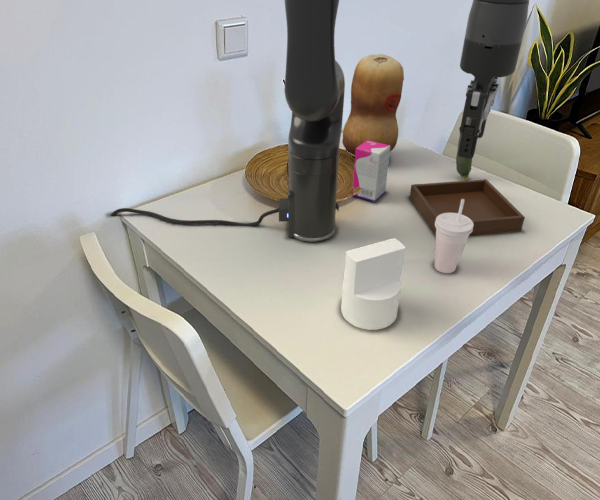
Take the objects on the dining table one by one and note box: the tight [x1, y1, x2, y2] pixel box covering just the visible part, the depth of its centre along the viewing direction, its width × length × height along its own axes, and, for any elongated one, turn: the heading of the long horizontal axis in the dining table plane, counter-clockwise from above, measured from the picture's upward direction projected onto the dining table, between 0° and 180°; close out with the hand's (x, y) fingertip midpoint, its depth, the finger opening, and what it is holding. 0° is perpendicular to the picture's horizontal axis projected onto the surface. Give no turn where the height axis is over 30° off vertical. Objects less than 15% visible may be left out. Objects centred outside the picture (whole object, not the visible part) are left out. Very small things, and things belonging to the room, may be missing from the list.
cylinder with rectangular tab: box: [340, 237, 406, 331], centre depth 79 cm, size 9×9×12 cm
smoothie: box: [433, 199, 474, 274], centre depth 89 cm, size 6×6×14 cm
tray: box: [409, 178, 526, 237], centre depth 107 cm, size 18×17×3 cm
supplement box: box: [352, 140, 391, 203], centre depth 111 cm, size 6×6×12 cm
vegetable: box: [455, 118, 473, 181], centre depth 116 cm, size 4×4×20 cm
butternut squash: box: [341, 53, 405, 155], centre depth 123 cm, size 14×13×25 cm
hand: (470, 146), depth 79 cm, fingers open, 8 cm apart
